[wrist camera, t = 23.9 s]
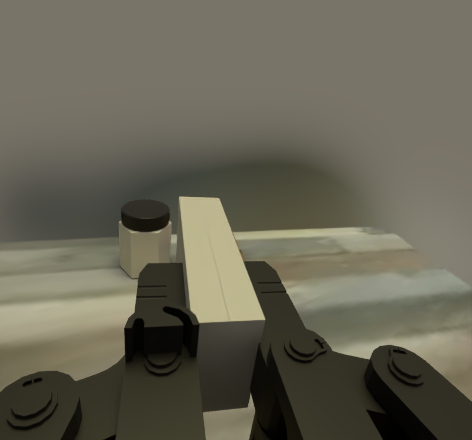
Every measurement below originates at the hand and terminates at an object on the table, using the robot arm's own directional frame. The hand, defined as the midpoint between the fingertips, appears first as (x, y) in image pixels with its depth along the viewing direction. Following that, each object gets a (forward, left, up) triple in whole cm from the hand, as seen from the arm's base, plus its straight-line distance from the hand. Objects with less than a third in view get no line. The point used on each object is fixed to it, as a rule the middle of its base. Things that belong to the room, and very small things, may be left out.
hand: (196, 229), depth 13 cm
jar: (-4, +42, -30) cm, 52 cm away
